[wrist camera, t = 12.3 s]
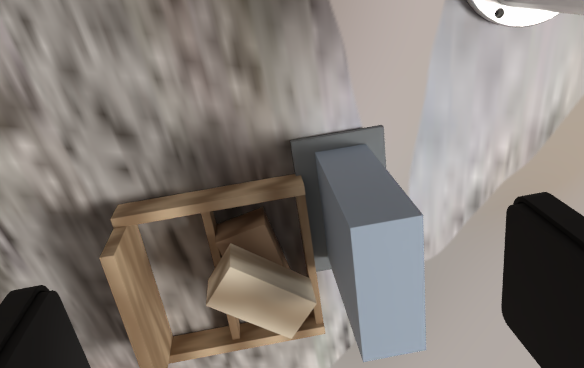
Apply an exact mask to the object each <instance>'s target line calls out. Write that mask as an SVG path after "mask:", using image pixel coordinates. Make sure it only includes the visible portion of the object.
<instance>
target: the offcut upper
mask: <svg viewBox="0 0 584 368" xmlns="http://www.w3.org/2000/svg"><path fill="white" fill-rule="evenodd" d="M316 304H317V303H316V299H315V295H314V291H313V287H312V283H311V279H310V278H308V277H306V276H304V275H301V274H299V273H297V272H295V271H292V270H290V269H288V268H285V267H283V266H281V265H279V264H276V263H274V262H272V261H270V260H267V259H265V258H263V257H261V256H258V255H256V254H254V253H251V252H249V251H247V250H245V249H242V248H240V247H238V246H236V245H233V244H231V243H230V245H229V247H228V248H227V250H226V251H225V253H224V255H223V256H222V258H221V260H220V261H219V263H218V265H217V266H216V268H215V269H214V271H213V273H212V274H211V276H210V278H209V279H208V289H207V301H206V306H208V307H211V308H213V309H216V310H218V311H221V312H224V313H226V314H229V315H231V316H234V317H236V318H239V319H241V320H244V321H247V322H249V323H252V324H254V325H257V326H259V327H262V328H265V329H267V330H270V331H272V332H275V333H277V334H280V335H282V336H285V337H288V338H290V339H292V338H293V336H294V335H295V333H296V332H297V331H298V329H299V328H300V326H301V325H302V324H303V322H304V321H305V319H306V318H307V317H308V315H309V314H310V312H311V311H312V310H313V308H314V307H315V305H316Z"/></svg>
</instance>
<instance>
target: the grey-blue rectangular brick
mask: <svg viewBox="0 0 584 368" xmlns="http://www.w3.org/2000/svg"><path fill="white" fill-rule="evenodd" d="M315 157H316V165H317V173H318V181H319V189H320V197H321V205H322V213H323V221H324V230H325V238H326V246H327V254H328V259H329V262H330V265H331V268H332V271H333V274H334V277H335V280H336V283H337V285H338V288H339V291H340V294H341V297H342V300H343V303H344V306H345V309H346V312H347V315H348V318H349V321H350V324H351V327H352V330H353V333H354V336H355V339H356V342H357V345H358V348H359V351H360V354H361V357H362V360H363V362H366V361H371V360H377V359H382V358H387V357H392V356H397V355H402V354H408V353H413V352H418V351H423V350H426V328H425V327H426V324H425V281H424V280H425V279H424V234H423V214H422V213H421V212H420V211H419V209H418V208H417V207H416V206H415V204H414V203H413V202H412V201H411V200H410V198H409V197H408V196H407V195H406V193H405V192H404V191H403V190H402V188H401V187H400V186H399V185H398V183H397V182H396V181H395V180H394V178H393V177H392V176H391V175H390V174H389V172H388V171H387V170H386V168H385V167H384V166H383V165H382V163H381V162H380V161H379V160H378V158H377V157H376V156H375V155H374V153H373V152H372V151H371V150H370V148H369V147H368V146H367V145H366V144H362V145H356V146H350V147H344V148H338V149H332V150H326V151H320V152H315Z"/></svg>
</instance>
